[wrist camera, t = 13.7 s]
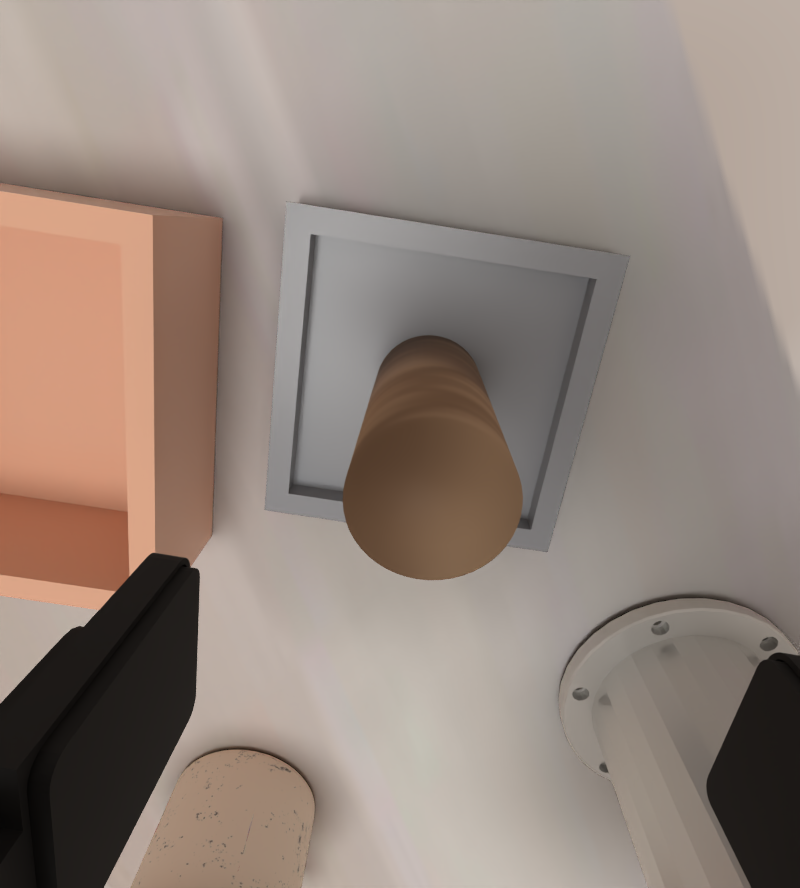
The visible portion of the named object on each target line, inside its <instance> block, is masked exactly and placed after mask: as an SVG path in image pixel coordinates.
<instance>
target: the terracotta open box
mask: <svg viewBox="0 0 800 888" xmlns="http://www.w3.org/2000/svg"><path fill="white" fill-rule="evenodd" d="M222 223H223V218H219V217H213V216H207V215H200V214H194V213H188V212H181V211H175V210H169V209H162V208H156V207H150V206H143V205H137V204H131V203H124V202H118V201H112V200H105V199H99V198H93V197H86V196H80V195H74V194H67V193H61V192H55V191H48V190H42V189H36V188H29V187H23V186H17V185H10V184H4V183H0V596H6V597H13V598H20V599H27V600H34V601H41V602H48V603H55V604H62V605H69V606H75V607H82V608H89V609H96V610H100V608H101V607H102V606H103V605H104V604H105V603H106V602H107V601H108V600H109V599H110V597H111V596H112V595H113V594H114V593H115V592H116V591H117V590H118V589H119V587H120V586H121V585H122V584H123V583H124V582H125V581H126V580H127V579H128V577H129V576H130V575H131V574H132V573H133V572H134V571H135V570H136V569H137V568H138V566H139V565H140V564H141V563H142V562H143V561H144V560H145V559H146V558H147V556H149V555H150V554H151V553H159V554H166V555H172V556H178V557H185V558H187V559H188V560H189V562H190V567H191V565H192V564H193V563H194V561H195V560H196V558H197V557H198V555H199V554H200V552H201V551H202V549H203V548H204V546H205V545H206V543H207V542H208V541H209V539H210V538H211V536H212V521H213V491H214V461H215V432H216V402H217V372H218V342H219V313H220V283H221V253H222Z"/></svg>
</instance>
